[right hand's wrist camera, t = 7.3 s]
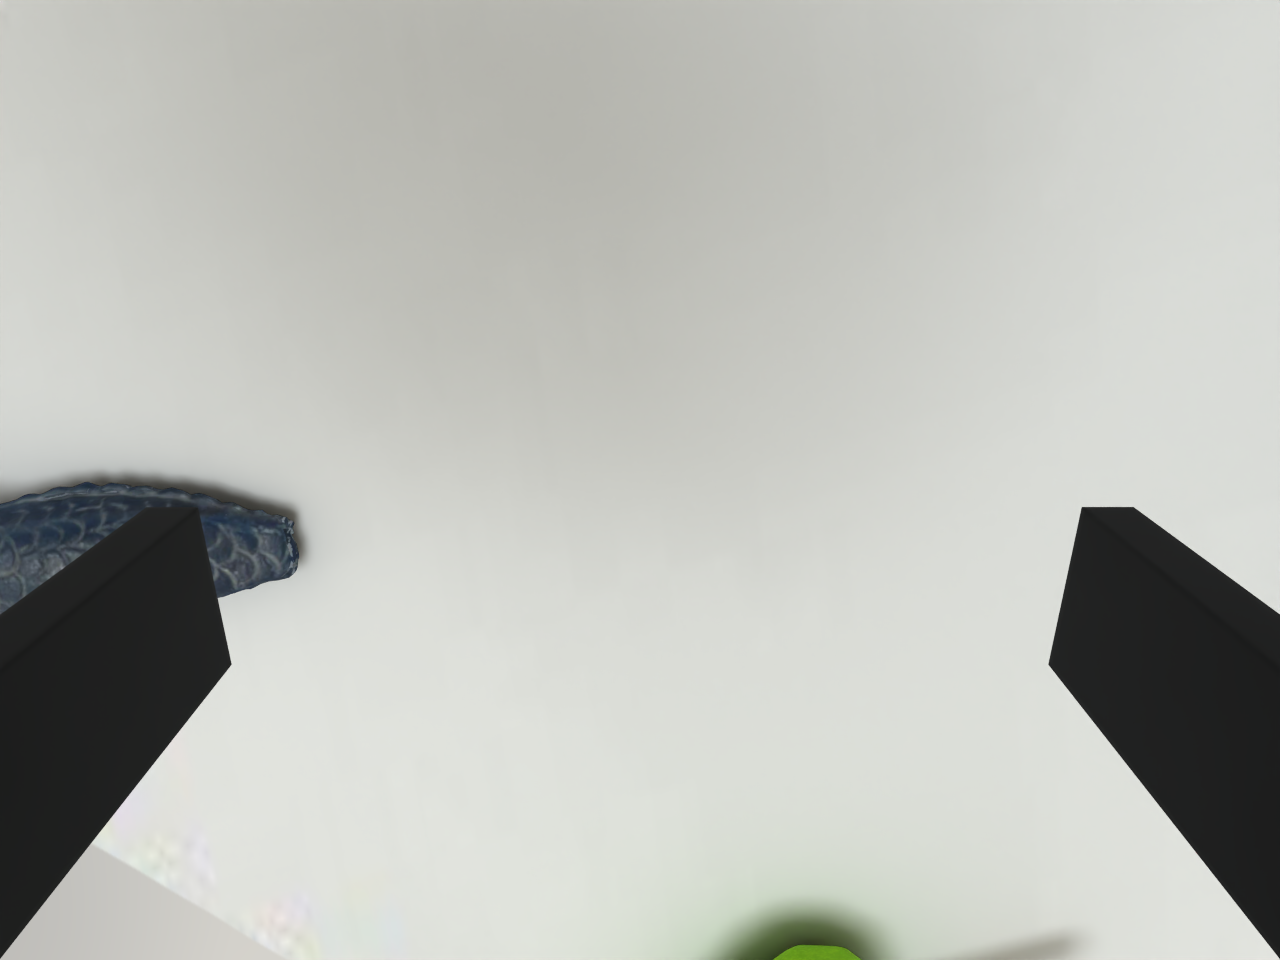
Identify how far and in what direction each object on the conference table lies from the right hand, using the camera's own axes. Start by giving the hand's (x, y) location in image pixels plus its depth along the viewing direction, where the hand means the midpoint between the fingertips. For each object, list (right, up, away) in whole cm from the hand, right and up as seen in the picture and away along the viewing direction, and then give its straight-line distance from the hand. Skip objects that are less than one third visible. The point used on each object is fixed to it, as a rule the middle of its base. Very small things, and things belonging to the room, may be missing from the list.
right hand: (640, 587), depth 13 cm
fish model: (-28, -2, +31) cm, 41 cm away
